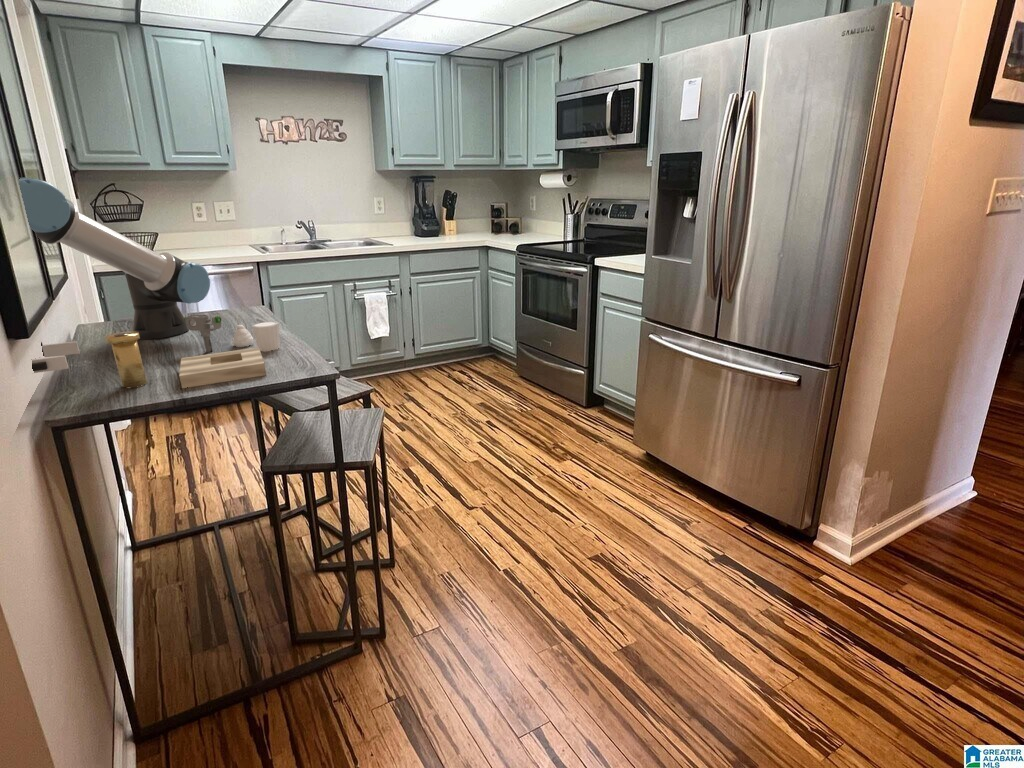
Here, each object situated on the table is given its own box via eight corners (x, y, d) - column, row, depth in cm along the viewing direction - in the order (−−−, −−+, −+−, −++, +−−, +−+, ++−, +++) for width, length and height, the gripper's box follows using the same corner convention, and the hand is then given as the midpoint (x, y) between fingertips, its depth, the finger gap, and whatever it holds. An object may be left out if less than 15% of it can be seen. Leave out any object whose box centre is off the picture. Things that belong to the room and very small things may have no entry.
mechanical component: (222, 353, 162) (215, 317, 158) (189, 352, 164) (181, 316, 160) (229, 350, 164) (222, 315, 161) (196, 349, 166) (189, 314, 163)
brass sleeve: (120, 383, 140) (107, 333, 136) (151, 378, 143) (139, 329, 139) (117, 391, 135) (103, 339, 131) (149, 386, 137) (137, 335, 133)
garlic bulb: (237, 322, 171) (254, 322, 170) (241, 342, 173) (258, 342, 172) (225, 327, 165) (243, 327, 165) (229, 347, 167) (247, 348, 167)
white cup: (284, 344, 169) (280, 320, 167) (280, 351, 162) (275, 326, 160) (259, 346, 168) (254, 322, 165) (253, 352, 161) (248, 327, 159)
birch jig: (183, 369, 149) (181, 358, 148) (260, 358, 156) (258, 347, 155) (182, 388, 135) (179, 375, 134) (266, 375, 143) (264, 363, 142)
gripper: (-26, 370, 135) (86, 356, 143) (-68, 405, 113) (66, 386, 122) (-37, 338, 132) (78, 326, 141) (-82, 367, 111) (56, 351, 120)
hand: (72, 354), depth 132 cm, fingers open, 13 cm apart
